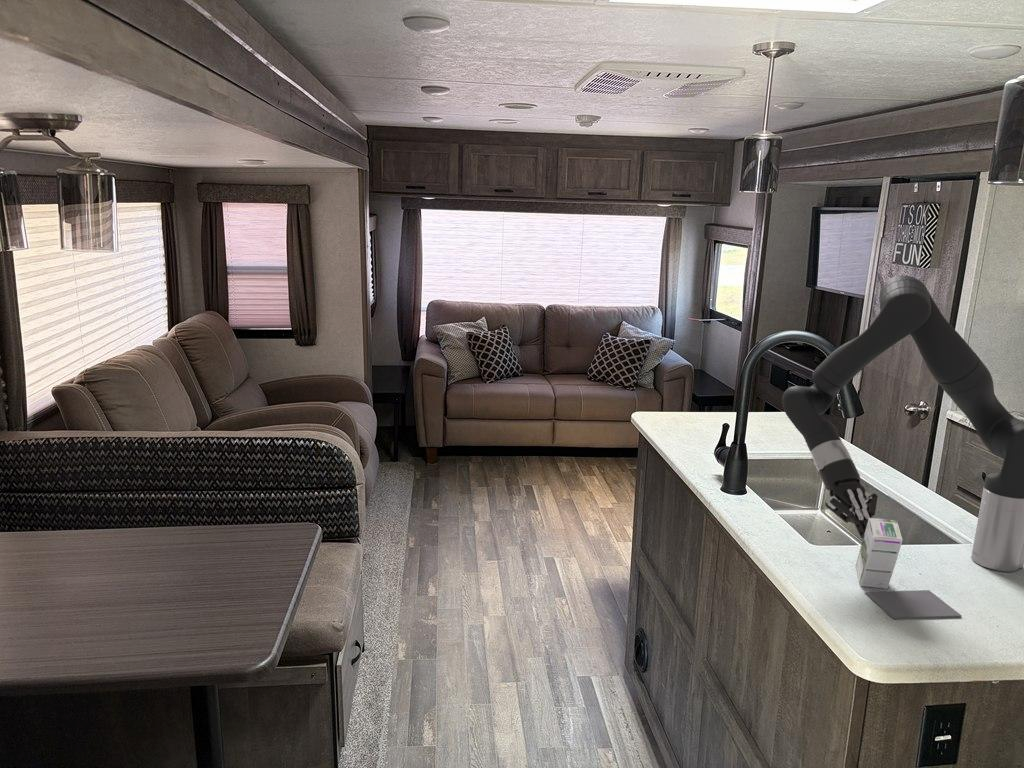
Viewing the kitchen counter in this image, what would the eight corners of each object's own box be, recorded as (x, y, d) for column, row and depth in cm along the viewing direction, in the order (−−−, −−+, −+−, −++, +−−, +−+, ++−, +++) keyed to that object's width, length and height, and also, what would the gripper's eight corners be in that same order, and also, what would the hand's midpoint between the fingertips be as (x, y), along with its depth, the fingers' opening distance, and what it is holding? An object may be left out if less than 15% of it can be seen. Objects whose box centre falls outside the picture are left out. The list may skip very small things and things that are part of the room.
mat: (928, 591, 157) (929, 590, 157) (961, 617, 148) (961, 615, 148) (865, 593, 156) (865, 591, 156) (893, 619, 146) (893, 617, 146)
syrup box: (888, 589, 158) (905, 539, 150) (858, 586, 159) (873, 536, 151) (882, 569, 163) (899, 519, 155) (853, 565, 164) (868, 516, 156)
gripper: (847, 470, 173) (882, 541, 165) (800, 474, 169) (833, 548, 160) (868, 455, 167) (905, 528, 159) (820, 459, 163) (856, 535, 154)
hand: (869, 538), depth 159 cm, fingers closed
